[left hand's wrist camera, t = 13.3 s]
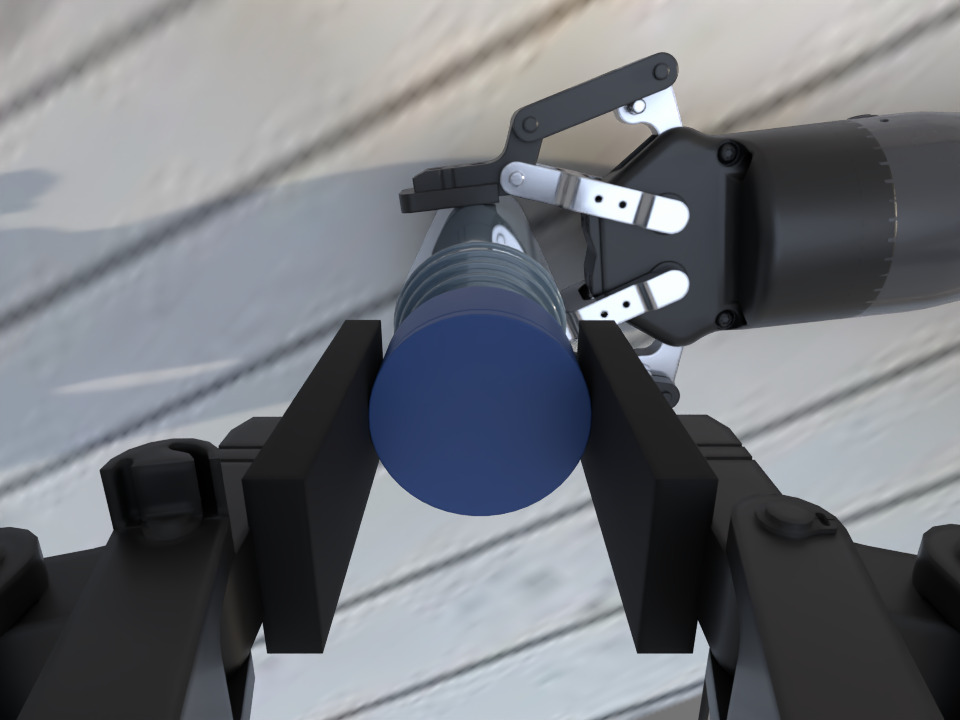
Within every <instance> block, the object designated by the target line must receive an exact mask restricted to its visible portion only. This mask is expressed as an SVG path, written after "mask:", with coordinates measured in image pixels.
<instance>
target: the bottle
mask: <svg viewBox="0 0 960 720" xmlns="http://www.w3.org/2000/svg"><path fill="white" fill-rule="evenodd" d="M499 202H500V203H492V204H483V205H472V206H466V207H457V208H449V209H440V210H437V212H436V214H435V217H434V219H433V221H432V223H431V226H430V228H429V230H428V232H427V234H426V237H425V239H424V241H423V243H422V245H421V248H420V250H419V252H418V254H417V256H416V259H415V261H414V263H413V265H412V268H411V270H410V272H409V274H408V276H407V279H406V281H405V283H404V285H403V287H402V290H401V292H400V295H399V297H398V300H397V303H396V308H395V313H394V334H395V332H396V330H397V329H398V328H399V326H400V325H401V324H402V322H403V321H404V320H405V319H406V318H407V317H408V316H409V315H410V314H411V313H412V312H413V311H414V310H415V309H416V308H418V307H419V306H420V305H422V304H423V303H424V302H426V301H428V300H430V299H431V298H433V297H435V296H438V295H440V294H442V293H445V292H448V291H451V290H455V289H459V288H465V287H473V286H487V287H495V288H501V289H505V290H509V291H513V292H515V293H518V294H520V295H523V296H525V297H527V298H529V299H530V300H532V301H534V302H536V303H537V304H539V305H540V306H541V307H543V308H544V309H545V310H546V311H548V312H549V313H550V314H551V315H552V316H553V317H554V318H555V319H556V321H557V322H558V323H559V325H560V326H561V327H562V329H563V330H564V332H565V334H566V312H565V307H564V303H563V299H562V296H561V294H560V292H559V289H558V287H557V285H556V282H555V280H554V278H553V276H552V274H551V271H550V269H549V267H548V265H547V262H546V260H545V258H544V256H543V254H542V251H541V249H540V247H539V245H538V242H537V240H536V238H535V236H534V233H533V231H532V229H531V227H530V225H529V222H528V220H527V218H526V216H525V213H524V211H523V210H522V208H521V206H520V205H519V203H518V202H517V201H516V200H515V199H514V198H513V197H512V196H511V195H506V196H499Z"/></svg>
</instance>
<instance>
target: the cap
mask: <svg viewBox="0 0 960 720" xmlns="http://www.w3.org/2000/svg"><path fill="white" fill-rule="evenodd" d="M368 418H369V430H370V434H371V439H372V442H373V445H374V448H375V450H376V453H377V455H378V457H379V459H380V460H381V462H382V464H383V466H384V467H385V468H386V470H387V471H388V473H389V474H390V475H391V477H392V478H393V479H394V480H395V481H396V482H397V483H398V484H399V485H400V486H401V487H402V488H404V489H405V490H406V491H407V492H409V493H410V494H411V495H413V496H414V497H416V498H417V499H419V500H421V501H422V502H424V503H426V504H428V505H431V506H433V507H435V508H438V509H441V510H444V511H447V512H451V513H456V514H460V515H469V516H491V515H500V514H505V513H509V512H513V511H517V510H519V509H522V508H525V507H528V506H530V505H532V504H534V503H536V502H538V501H540V500H541V499H543V498H544V497H546V496H547V495H549V494H550V493H552V492H553V491H554V490H555V489H556V488H558V487H559V486H560V485H561V484H562V483H563V482H564V481H565V480H566V479H567V478H568V477H569V476H570V474H571V473H572V471H573V470H574V469H575V467H576V466H577V464H578V463H579V461H580V459H581V457H582V455H583V453H584V451H585V448H586V445H587V442H588V440H589V435H590V430H591V419H592V408H591V399H590V395H589V390H588V387H587V384H586V381H585V379H584V376H583V374H582V371H581V369H580V366H579V364H578V361H577V359H576V356H575V354H574V351H573V349H572V346H571V344H570V341H569V339H568V337H567V335H566V334H565V332H564V330H563V329H562V327H561V326H560V325H559V323H558V322H557V321H556V319H555V318H554V317H553V316H552V315H551V314H550V313H549V312H548V311H546V310H545V309H544V308H543V307H541V306H540V305H539V304H537V303H536V302H534V301H532V300H530V299H529V298H527V297H525V296H523V295H520V294H518V293H515V292H513V291H509V290H505V289H501V288H495V287H487V286H473V287H465V288H459V289H455V290H451V291H448V292H445V293H442V294H440V295H438V296H435V297H433V298H431V299H430V300H428V301H426V302H424V303H423V304H422V305H420V306H419V307H418V308H416V309H415V310H414V311H413V312H412V313H411V314H410V315H409V316H408V317H407V318H406V319H405V320H404V321H403V322H402V324H401V325H400V326H399V328H398V329H397V330H396V332H395V334H394V336H393V338H392V339H391V341H390V344H389V346H388V349H387V351H386V354H385V356H384V359H383V361H382V364H381V366H380V369H379V371H378V374H377V377H376V379H375V382H374V384H373V387H372V391H371V395H370V400H369V410H368Z"/></svg>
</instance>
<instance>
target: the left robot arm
mask: <svg viewBox="0 0 960 720" xmlns="http://www.w3.org/2000/svg"><path fill="white" fill-rule="evenodd" d="M382 361H383V351H382V333H381V320H345V322H344V324H343V325H342V327H341V328H340V330H339V331H338V333H337V334H336V336H335V337H334V339H333V340H332V342H331V343H330V345H329V346H328V348H327V349H326V351H325V352H324V354H323V356H322V357H321V359H320V360H319V362H318V363H317V365H316V366H315V368H314V369H313V371H312V372H311V374H310V375H309V377H308V378H307V380H306V381H305V383H304V384H303V386H302V388H301V389H300V391H299V392H298V394H297V395H296V397H295V398H294V400H293V401H292V403H291V404H290V406H289V407H288V409H287V410H286V412H285V413H284V415H283V417H252V418H251V419H249V420H247V421H246V422H244V423H242V424H241V425H239V426H237V427H236V428H234V429H232V430H231V431H230V432H229V433H228V435H227V436H226V437H225V439H224V440H223V441H222V442H221V444H220V445H219V449H218V448H217V447H216V446H214V445H213V444H211V443H210V442H208V441H203V440H198V439H194V438H183V439H168V440H162V441H156V442H150V443H147V444H144V445H141V446H138V447H135V448H132V449H129V450H127V451H125V452H123V453H121V454H120V455H118V456H116V457H114V458H112V459H111V460H110V461H109V462H107V463H106V464H105V465H104V466H103V467H102V468H101V469H100V474H101V478H102V483H103V487H104V491H105V495H106V500H107V504H108V508H109V512H110V517H111V521H112V525H113V529H114V530H113V532H112V534H111V536H110V538H109V540H108V542H107V544H106V546H102V547H98V548H94V549H89V550H84V551H78V552H73V553H68V554H62V555H57V556H52V557H47V558H43V555H42V551H41V548H40V544H39V541H38V537H37V536H35V535H34V534H33V533H31V532H30V531H29V530H26V529H20V528H13V527H5V528H0V720H250V713H251V705H252V697H253V689H254V682H255V675H254V668H253V661H252V655H251V648H252V645H253V643H254V641H255V638H256V636H257V634H258V631H259V629H260V627H261V624H262V622H263V629H264V635H265V642H266V649H267V653H323V651H324V647H325V644H326V641H327V637H328V634H329V630H330V627H331V624H332V620H333V617H334V613H335V610H336V606H337V603H338V600H339V596H340V593H341V589H342V586H343V582H344V579H345V576H346V572H347V569H348V565H349V562H350V558H351V555H352V552H353V548H354V545H355V541H356V538H357V535H358V531H359V528H360V524H361V521H362V517H363V514H364V511H365V507H366V504H367V500H368V497H369V493H370V490H371V487H372V483H373V480H374V476H375V473H376V470H377V466H378V463H379V457H378V455H377V453H376V450H375V448H374V445H373V442H372V439H371V434H370V430H369V418H368V410H369V400H370V395H371V391H372V387H373V384H374V382H375V379H376V377H377V374H378V371H379V369H380V366H381V364H382ZM577 361H578V364H579V366H580V369H581V371H582V374H583V376H584V379H585V381H586V384H587V387H588V390H589V395H590V399H591V408H592V419H591V430H590V435H589V440H588V442H587V445H586V448H585V451H584V453H583V455H582V457H581V463H582V466H583V470H584V473H585V476H586V480H587V483H588V487H589V490H590V493H591V497H592V500H593V504H594V507H595V511H596V514H597V517H598V521H599V524H600V528H601V531H602V535H603V538H604V541H605V545H606V548H607V552H608V555H609V558H610V562H611V565H612V569H613V572H614V576H615V579H616V582H617V586H618V589H619V593H620V596H621V600H622V603H623V606H624V610H625V613H626V617H627V620H628V623H629V627H630V630H631V634H632V637H633V641H634V644H635V647H636V651H637V653H693V649H694V642H695V635H696V629H697V622H698V621H699V623H700V626H701V628H702V630H703V633H704V635H705V637H706V640H707V642H708V644H709V646H710V649H709V655H708V661H707V667H706V674H705V680H704V686H703V692H702V699H701V705H700V712H699V719H698V720H708V714H709V712H710V719H711V720H960V525H956V524H947V525H941V526H934V527H932V528H931V529H929V530H928V531H927V532H925V533H924V534H923V537H922V541H921V544H920V548H919V551H918V555H914V554H908V553H903V552H898V551H892V550H887V549H882V548H876V547H871V546H866V545H862V544H858V543H854V542H853V541H852V539H851V537H850V535H849V533H848V531H847V529H846V528H845V527H844V526H843V525H842V523H841V522H840V521H839V520H838V519H837V518H836V517H835V516H834V515H832V514H831V513H829V512H827V511H826V510H824V509H823V508H821V507H820V506H818V505H815V504H812V503H810V502H807V501H805V500H802V499H800V498H796V497H791V496H786V495H782V493H781V492H780V491H779V490H778V488H777V487H776V486H775V485H774V483H773V482H772V481H771V480H770V478H769V477H768V476H767V475H766V473H765V472H764V471H763V470H762V468H761V467H760V466H759V465H758V463H757V462H756V461H755V460H752V456H751V455H750V453H749V452H748V451H747V450H746V448H745V447H742V443H741V442H740V441H739V440H738V438H737V437H736V436H735V435H734V433H733V432H732V431H731V430H730V428H728V427H727V426H725V425H723V424H722V423H720V422H718V421H717V420H715V419H713V418H712V417H710V416H708V415H676V413H675V412H674V410H673V409H672V407H671V406H670V404H669V403H668V401H667V400H666V398H665V397H664V395H663V394H662V392H661V391H660V389H659V388H658V386H657V384H656V383H655V381H654V380H653V378H652V377H651V375H650V374H649V372H648V371H647V369H646V368H645V366H644V365H643V363H642V362H641V360H640V359H639V357H638V356H637V354H636V352H635V351H634V349H633V348H632V346H631V345H630V343H629V342H628V340H627V339H626V337H625V336H624V334H623V333H622V331H621V330H620V328H619V327H618V325H617V323H616V322H615V320H579V333H578V351H577Z"/></svg>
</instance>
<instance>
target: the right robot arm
mask: <svg viewBox="0 0 960 720" xmlns="http://www.w3.org/2000/svg"><path fill="white" fill-rule="evenodd" d="M678 70H679V69H678V63H677V61H676V59H675V58H674V57H673V56H672V55H670V54H668V53H665V52H661V53H657V54H654V55H651V56H648V57H645V58H642V59H640V60H637V61H635V62H632V63H630V64H627V65H625V66H622V67H620V68H618V69H615V70H613V71H610V72H608V73H605V74H603V75H600V76H598V77H596V78H593V79H591V80H588V81H586V82H583V83H581V84H578V85H576V86H574V87H571V88H569V89H566V90H564V91H561V92H559V93H557V94H554V95H552V96H549V97H547V98H544V99H542V100H539V101H537V102H535V103H532V104H530V105H527V106H525V107H522V108H520V109H518V110H517V111H516V112H515V113H514V114H513V115H512V118H511V121H510V128H509V132H508V136H507V140H506V144H505V148H504V150H503V152H502V153H501V154H500V155H499V156H498V157H497V158H496V159H494V160H491V161H487V162H478V163H470V164H461V165H454V166H444V167H436V168H428V169H426V170H424V171H423V172H421V173H419V174H417V175H416V176H415V177H414V178H413V185H414V188H410V189H405V190H402V191H401V192H400V193H399V198H400V205H401V211H402V213H414V212H423V211H432V210H440V209H449V208H457V207H466V206H472V205H483V204H492V203H500V202H499V196H506V195H513V196H517V197H522V198H526V199H530V200H534V201H539V202H543V203H547V204H552V205H556V206H559V207H561V208H564V209H568V210H571V211H575V212H580V213H581V224H582V229H583V232H584V235H585V238H586V241H587V244H588V247H587V252H586V257H585V262H584V275H585V280H583V281H581V282H579V283H577V284H574V285H572V286H570V287H568V288H566V289H564V290H563V291H561V292H560V294H561V296H562V299H563V303H564V307H565V312H566V335H567V337H568V339H569V341H571V340H574V339H578V333H579V320H615V322H616V323H617V325H618V324H620V323H623V322H626V323H628V324H630V325H632V326H633V327H635V328H637V329H639V330H640V331H642V332H644V333H646V334H648V335H649V336H651V337H653V338H655V341H654V342H653V343H652V344H651V345H650V346H648V347H646V348H636V349H634V351H635V352H636V354H637V356H638V357H639V359H640V360H641V362H642V363H643V365H644V366H645V368H646V369H647V371H648V372H649V374H650V375H651V377H652V378H653V380H654V381H655V383H656V384H657V386H658V388H659V389H660V391H661V392H662V394H663V395H664V397H665V398H666V400H667V401H668V403H669V404H670V406H671V407H672V408H673V407H674V406H675V405H676V404H677V403H678V401H679V398H680V393H679V390H678V389H677V387H676V386H675V384H674V380H675V376H676V373H677V369H678V365H679V361H680V358H681V354H682V350H683V346H687V345H690V344H692V343H694V342H696V341H697V340H699V339H700V338H702V337H704V336H705V335H708V334H710V333H713V332H715V331H721V330H740V329H751V328H760V327H769V326H779V325H788V324H797V323H807V322H816V321H824V320H833V319H844V318H853V317H862V316H872V315H881V314H890V313H899V312H907V311H914V310H920V309H925V308H930V307H935V306H939V305H943V304H947V303H951V302H955V301H959V300H960V112H910V113H899V114H891V115H882V116H878V115H870V114H867V115H860V116H855V117H851V118H849V119H847V120H840V121H832V122H824V123H815V124H808V125H799V126H791V127H782V128H774V129H765V130H757V131H748V132H740V133H732V134H723V135H706V134H703V133H701V132H699V131H697V130H695V129H693V128H690V127H683V125H682V121H681V117H680V113H679V110H678V106H677V102H676V98H675V94H674V90H673V86H672V85H673V83H674V82H675V81H676V79H677V76H678ZM610 111H613V112H614V115H615V117H616V118H617V120H619V121H620V122H622V123H624V124H638V123H643V124H645V125H647V126H648V127H649V128H650V130H651V131H652V135H651V136H650V137H649V138H648V139H647V140H646V141H644V142H643V143H642V144H641V145H640V146H639V147H638V148H637V149H636V150H634V151H633V152H632V153H631V154H630V155H629V156H628V157H627V158H625V159H624V160H623V161H622V162H621V163H620V164H619V165H618V166H616V167H615V168H614V169H613V170H612V171H611V172H610V173H609V174H608V175H606V176H605V177H604V178H602V177H598V176H594V175H589V174H585V173H581V172H577V171H573V170H568V169H564V168H558V167H553V166H549V165H545V164H541V163H537V159H538V155H539V151H540V147H541V143H542V140H543V138H545V137H548V136H550V135H553V134H555V133H558V132H560V131H563V130H565V129H568V128H570V127H573V126H575V125H578V124H580V123H583V122H585V121H588V120H590V119H593V118H595V117H598V116H600V115H603V114H605V113H608V112H610ZM590 293H591V295H589V294H590ZM604 311H605V313H604V314H601V313H602V312H604ZM574 354H575V356H576V359H577V352H574Z"/></svg>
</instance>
